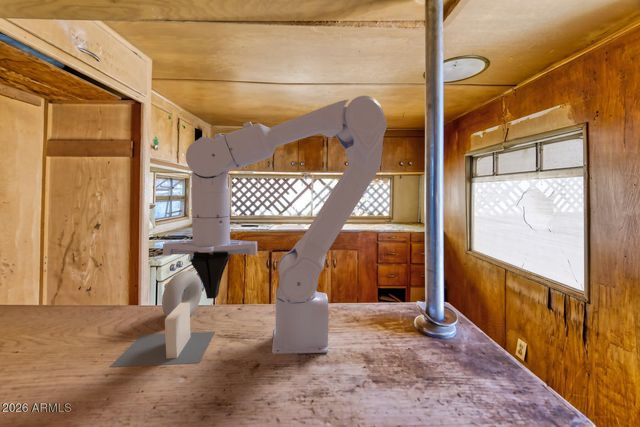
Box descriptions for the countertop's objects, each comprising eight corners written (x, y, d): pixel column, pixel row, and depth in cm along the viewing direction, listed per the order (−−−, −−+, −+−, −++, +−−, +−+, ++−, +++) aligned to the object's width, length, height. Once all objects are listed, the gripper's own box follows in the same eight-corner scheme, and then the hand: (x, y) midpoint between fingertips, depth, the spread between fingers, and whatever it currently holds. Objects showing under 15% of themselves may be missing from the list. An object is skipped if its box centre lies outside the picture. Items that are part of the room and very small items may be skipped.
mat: (215, 333, 51) (215, 331, 51) (199, 365, 42) (199, 362, 42) (141, 336, 50) (141, 334, 50) (109, 369, 41) (109, 366, 41)
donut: (174, 331, 52) (172, 280, 51) (158, 329, 52) (156, 279, 51) (206, 308, 62) (205, 265, 60) (192, 307, 62) (191, 264, 61)
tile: (190, 337, 49) (189, 302, 49) (176, 357, 44) (175, 319, 43) (181, 337, 49) (180, 302, 49) (166, 358, 43) (164, 319, 43)
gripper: (151, 218, 40) (155, 307, 41) (253, 219, 41) (253, 305, 43) (172, 213, 47) (175, 289, 48) (258, 214, 48) (258, 288, 50)
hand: (212, 296), depth 46 cm, fingers closed
